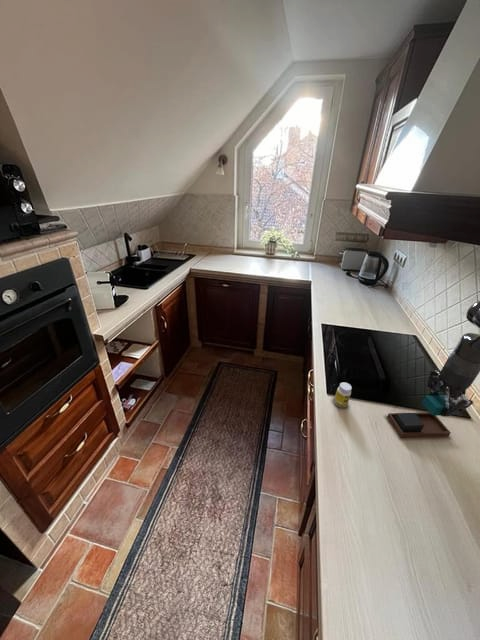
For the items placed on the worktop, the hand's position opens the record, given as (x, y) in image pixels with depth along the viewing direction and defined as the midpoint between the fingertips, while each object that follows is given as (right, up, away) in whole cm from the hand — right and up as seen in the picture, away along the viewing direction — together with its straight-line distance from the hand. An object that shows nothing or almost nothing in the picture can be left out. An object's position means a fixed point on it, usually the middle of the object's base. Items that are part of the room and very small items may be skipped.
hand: (436, 407), depth 82 cm
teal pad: (0, 0, 0) cm, 0 cm away
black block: (-7, -7, +4) cm, 11 cm away
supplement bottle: (-26, -3, +13) cm, 29 cm away
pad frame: (-4, -8, +4) cm, 10 cm away
